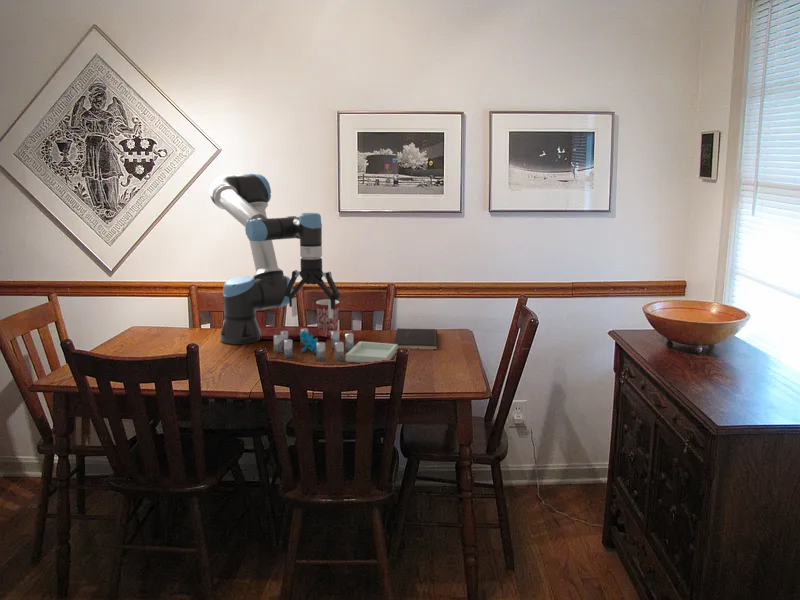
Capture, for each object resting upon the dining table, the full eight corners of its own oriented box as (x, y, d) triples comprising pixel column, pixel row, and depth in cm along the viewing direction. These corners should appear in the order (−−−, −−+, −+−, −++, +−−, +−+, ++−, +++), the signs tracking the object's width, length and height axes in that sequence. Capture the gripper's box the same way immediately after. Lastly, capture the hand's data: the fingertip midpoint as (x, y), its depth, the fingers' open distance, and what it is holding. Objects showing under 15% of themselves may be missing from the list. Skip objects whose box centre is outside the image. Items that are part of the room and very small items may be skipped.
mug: (336, 339, 277) (335, 304, 274) (313, 337, 278) (312, 303, 275) (344, 331, 289) (344, 298, 286) (322, 329, 290) (322, 296, 287)
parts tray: (345, 361, 249) (345, 354, 248) (359, 347, 265) (359, 341, 265) (386, 364, 246) (386, 357, 245) (397, 350, 262) (397, 344, 262)
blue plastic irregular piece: (317, 353, 252) (299, 331, 254) (305, 364, 254) (287, 342, 255) (328, 349, 263) (311, 328, 264) (317, 359, 264) (300, 338, 266)
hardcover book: (393, 350, 265) (393, 344, 265) (396, 333, 288) (397, 328, 287) (437, 351, 264) (437, 345, 264) (437, 334, 287) (437, 329, 286)
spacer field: (266, 356, 253) (266, 340, 252) (287, 342, 271) (286, 327, 270) (340, 362, 247) (340, 345, 246) (356, 347, 265) (356, 332, 264)
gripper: (273, 257, 251) (275, 317, 255) (342, 260, 246) (342, 321, 250) (281, 254, 258) (283, 312, 262) (348, 257, 253) (349, 316, 257)
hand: (312, 317), depth 256 cm, fingers open, 13 cm apart
